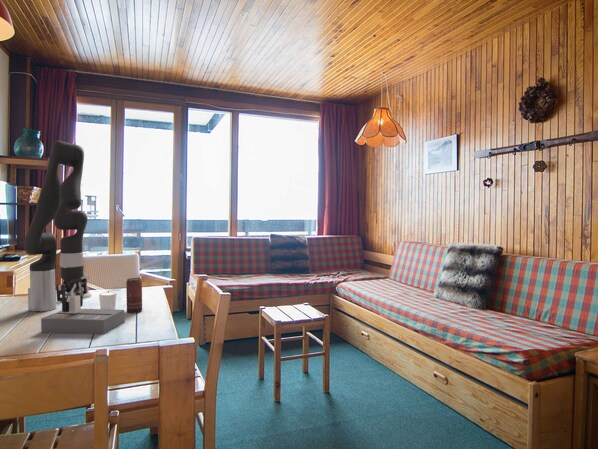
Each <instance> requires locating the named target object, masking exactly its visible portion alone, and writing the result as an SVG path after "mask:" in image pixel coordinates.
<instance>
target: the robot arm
mask: <svg viewBox="0 0 598 449" xmlns="http://www.w3.org/2000/svg"><path fill="white" fill-rule="evenodd" d="M49 154H50V155H49V158H48V163H47V167H46V168H47V169H46V172H45V177H44V179H43V183H42V187H41V189H40V192H39V196H38V200H37V204H36V208H35V212H34V215H33V218H32V221H31V223H30V226H29V228H28V230H27V233H26V235H25V239H24V240H23V241H24V242H23V247H24V248H23V249H24V252H25V253H26V254H27V255H29V256H31V255H33V256H36V255H41V256H40V258H39V259H38V260H36V261H34V262H33V261H32V262H31V263H30V264H29V286H30V287H28V289H27V304H28V305H27V307H28V308H27V310H28V311H30V310H31V312H34V311H40V312H48V311H52V310H55V309H56V308H57V302H61V311H62V312H69V299H70V296H72V294H73V293H75V295H80V306H81V307H83V303H84V302H83V300H84V299H83V296H84V294H86V293H87V286H88V284H87V283H88V281H87V279H86V278H81V277H83V276H84V273H85V271H84V267H85V266H84V263H85V262H84V254H83V242H84V241H83V239H84V234H85V230H86V227H87V224H88V215H87V213H86V212H85V211H83V210H78V209H80V207H81V206H82V195H81V194H82V193H81V192H82V191H81V186H82V185H81V184H82V179H83V178H82V177H83V170H84V161H85V160H84V159H85V151H84V148H83V147H82V146H81V145H78V144H75V143H71V142H70V143H69V142H67V141H62V140H55V141H54V142H53V144H52V146H51V150H50V153H49ZM59 165H60V166H66V167H71V168H72V171H71V173H69V175H68V176H66V178H65V179H63V181H61V177H60V175H59V171H58V170H59ZM52 221H53V225H54V227H55V228H56V229H57V230H60V231H69V230H70V231H74V230H75V231H76V232H75V233H74V234H72V235H67V236H63V237H61V238H60V241H59V242H60V248H59V249H60V255H59V256H60V257H59V276H60V277H59V278H60V279H61V280H62V283H61V284H56V265H57V251H58V247H57V246H58V243H57V240H58V239H57V237H56V235H55V234H54V233H53V232H44V231H45V229H46V228H47V226H48V225H49V224H50V223H52ZM82 288H84V291H83V289H82ZM66 296H67V298H66Z"/></svg>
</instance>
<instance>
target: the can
mask: <svg viewBox="0 0 598 449" xmlns="http://www.w3.org/2000/svg"><path fill="white" fill-rule="evenodd" d="M125 286H126V288H125V289H126V292H125V293H126V312H127V313H128V314H137V313H140V312H142V311H143V280H142V279H141V278H139V277H137V278H136V277H135V278H134V277H132V278H127V279H126V282H125Z"/></svg>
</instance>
